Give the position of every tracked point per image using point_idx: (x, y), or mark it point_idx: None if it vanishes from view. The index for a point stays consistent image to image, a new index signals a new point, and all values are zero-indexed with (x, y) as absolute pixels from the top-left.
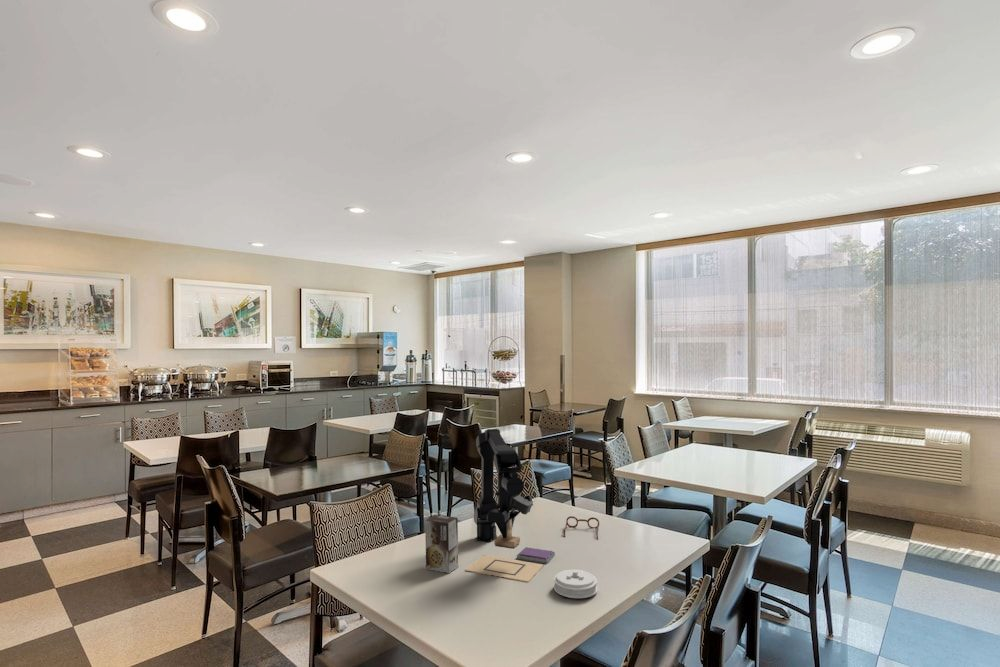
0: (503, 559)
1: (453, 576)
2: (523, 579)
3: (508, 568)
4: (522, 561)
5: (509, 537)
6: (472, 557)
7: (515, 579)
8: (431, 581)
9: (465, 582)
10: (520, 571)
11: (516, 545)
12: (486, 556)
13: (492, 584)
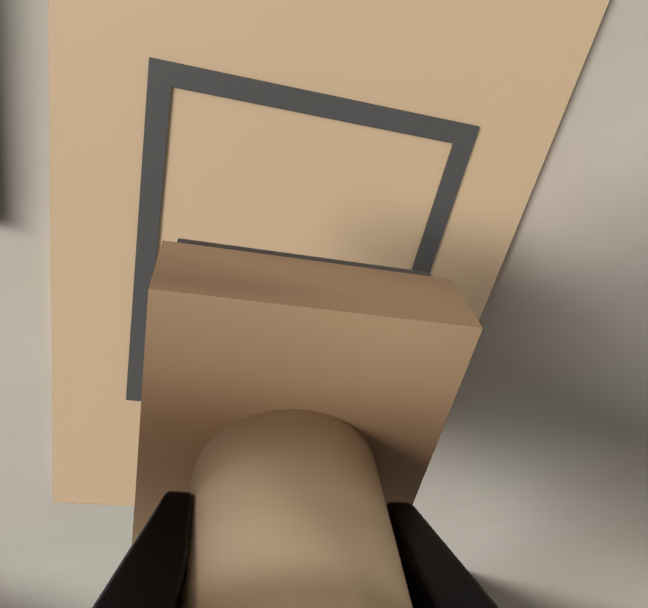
0: (86, 333)
1: (493, 536)
2: (586, 3)
3: (308, 232)
4: (55, 122)
5: (360, 462)
6: (127, 548)
7: (567, 100)
8: (566, 596)
9: (590, 452)
10: (367, 85)
11: (311, 264)
12: (79, 477)
13: (642, 280)
